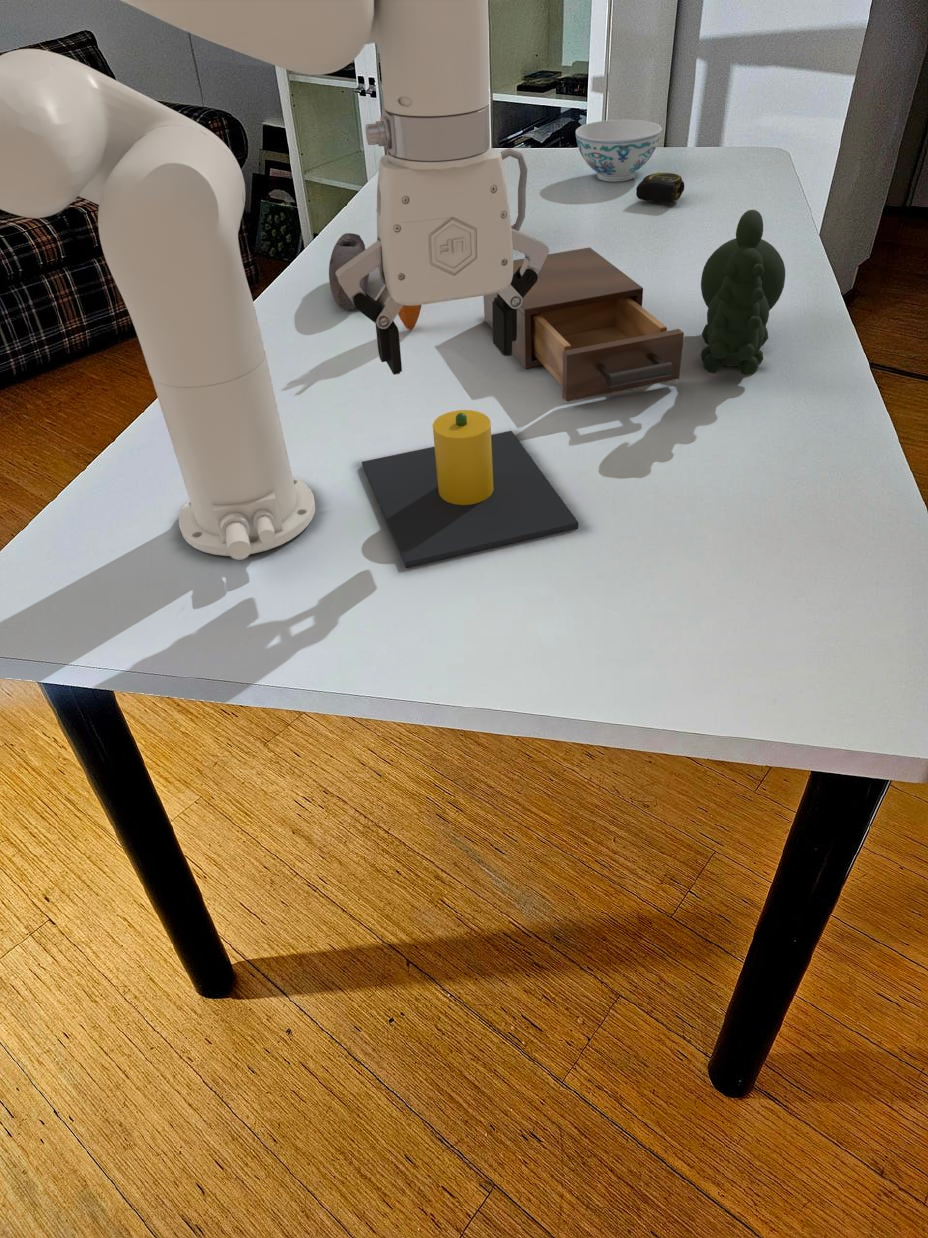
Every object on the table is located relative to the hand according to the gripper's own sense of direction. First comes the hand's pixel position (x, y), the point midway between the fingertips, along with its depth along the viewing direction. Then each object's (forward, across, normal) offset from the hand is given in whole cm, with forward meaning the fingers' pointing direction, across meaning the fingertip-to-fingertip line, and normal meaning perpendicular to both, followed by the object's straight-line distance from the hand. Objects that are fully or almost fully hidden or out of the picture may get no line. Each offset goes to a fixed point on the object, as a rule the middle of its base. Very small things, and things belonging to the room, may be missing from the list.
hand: (448, 358), depth 75 cm
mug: (+14, +21, +65) cm, 69 cm away
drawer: (+12, +23, +17) cm, 31 cm away
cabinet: (+13, +23, +31) cm, 41 cm away
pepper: (+13, +1, 0) cm, 13 cm away
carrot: (+14, +6, +40) cm, 43 cm away
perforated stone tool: (+14, +1, +54) cm, 56 cm away
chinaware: (+13, +58, +91) cm, 108 cm away
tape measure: (+13, +58, +73) cm, 94 cm away
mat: (+14, +1, 0) cm, 14 cm away
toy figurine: (+13, +39, +18) cm, 45 cm away
